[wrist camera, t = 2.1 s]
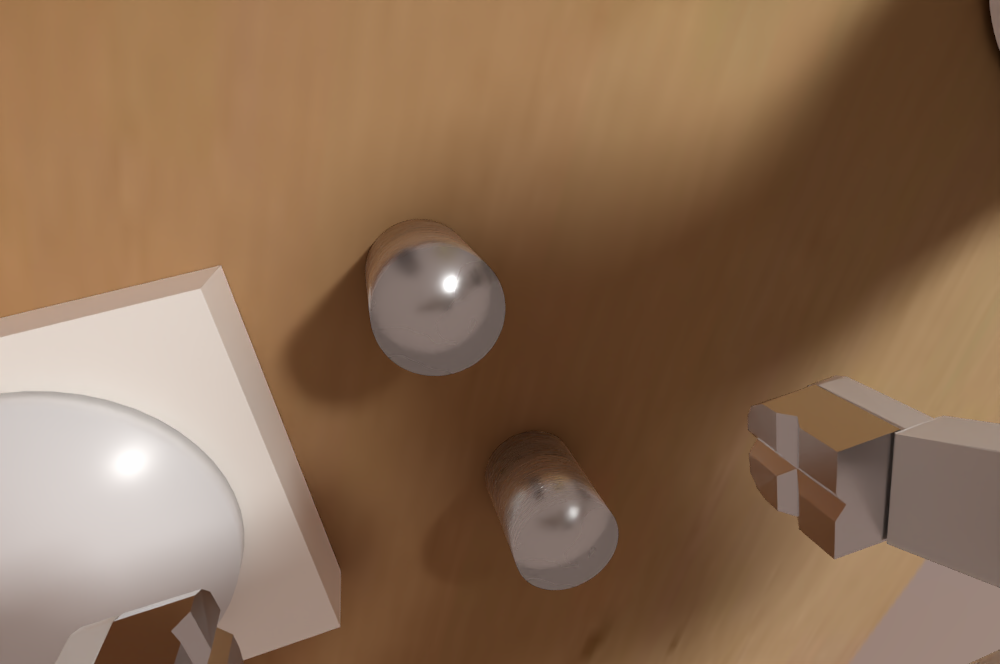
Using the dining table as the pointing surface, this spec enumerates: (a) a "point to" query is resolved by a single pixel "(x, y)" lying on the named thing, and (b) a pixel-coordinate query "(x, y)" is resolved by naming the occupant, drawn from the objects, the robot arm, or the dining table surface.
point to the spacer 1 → (431, 299)
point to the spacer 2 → (549, 511)
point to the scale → (150, 473)
